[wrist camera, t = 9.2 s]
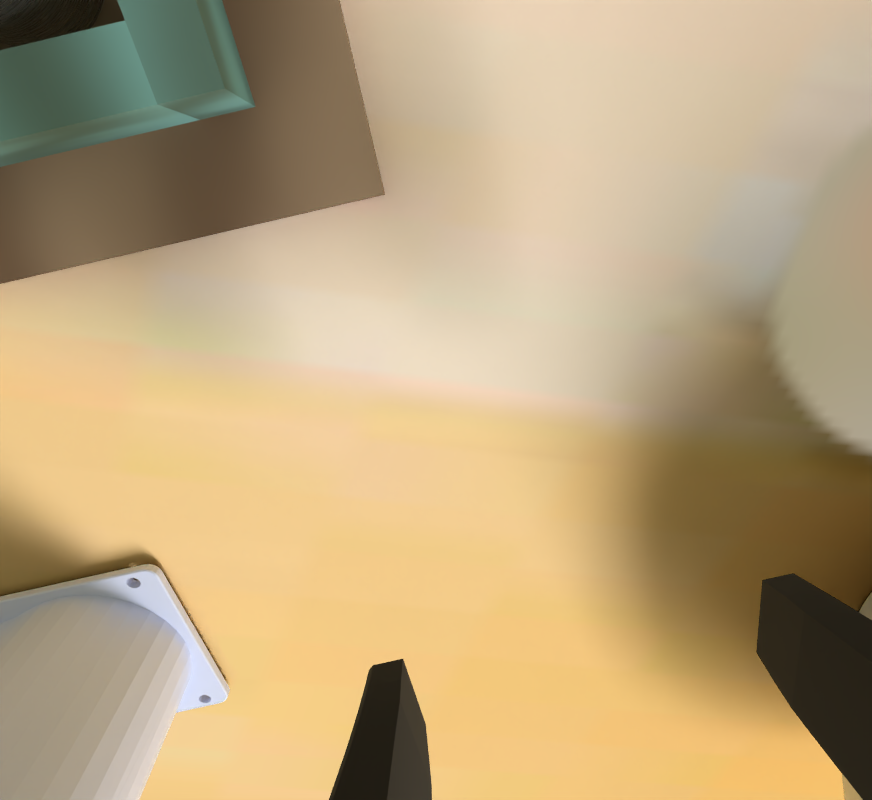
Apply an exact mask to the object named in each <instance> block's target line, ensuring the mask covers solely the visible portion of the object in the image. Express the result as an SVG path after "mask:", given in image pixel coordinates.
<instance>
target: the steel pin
mask: <svg viewBox="0 0 872 800" xmlns="http://www.w3.org/2000/svg"><path fill="white" fill-rule="evenodd" d="M103 2H104V0H0V43H3V44H6V45H9V46H11V47H16V46H20V45H24V44H28V43H33V42H37V41H41V40H45V39H49V38H54V37H58V36H62V35H66V34H70V33H74V32H79V31H83V30H87V29H91V28H92V27H93V25H94V24H95V22H96V21H97V18H98V16H99V14H100V12H101V9H102V6H103Z"/></svg>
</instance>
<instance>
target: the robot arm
mask: <svg viewBox="0 0 872 800" xmlns="http://www.w3.org/2000/svg"><path fill="white" fill-rule="evenodd" d="M133 578H136V579H138V580H139V581H137V580H134V579H133ZM757 654H758V656H759V657H760V659H761V661H762V662H763V664H764V665H765V667H766V669H767V670H768V672H769V674H770V675H771V677H772V678H773V680H774V682H775V683H776V685H777V686H778V688H779V689H780V691H781V693H782V694H783V696H784V697H785V699H786V700H787V702H788V703H789V705H790V706H791V708H792V709H793V711H794V712H795V713H796V715H797V716H798V717H799V719H800V720H801V721H802V722H803V724H804V725H805V726H806V728H807V729H808V730H809V732H810V733H811V734H812V735H813V737H814V738H815V739H816V741H817V742H818V743H819V744H820V746H821V747H822V748H823V750H824V751H825V752H826V754H827V755H828V756H829V757H830V759H831V760H832V761H833V762H834V764H835V765H836V766H837V768H838V769H839V770H840V771H841V773H842V774H843V775H844V777H845V778H846V779H847V780H848V782H849V783H850V784H851V785H852V787H853V788H854V789H855V791H856V792H857V793H858V794H859V796H860V797H861V798H862V800H872V620H871V619H869V618H867V617H866V616H864V615H862V614H861V613H859V612H857V611H856V610H854V609H852V608H851V607H849V606H847V605H846V604H844V603H842V602H841V601H839V600H837V599H836V598H834V597H832V596H831V595H829V594H827V593H826V592H824V591H822V590H821V589H819V588H817V587H816V586H814V585H812V584H811V583H809V582H807V581H805V580H804V579H802V578H800V577H799V576H797V575H795V574H789V575H784V576H779V577H775V578H770V579H766V580H762V592H761V604H760V616H759V628H758V640H757ZM229 691H230V689H229V686H228V684H227V683H226V681H225V679H224V677H223V676H222V674H221V672H220V671H219V669H218V667H217V665H216V664H215V662H214V660H213V658H212V657H211V655H210V653H209V651H208V650H207V648H206V646H205V645H204V643H203V641H202V639H201V638H200V636H199V634H198V632H197V631H196V629H195V627H194V625H193V624H192V622H191V620H190V619H189V617H188V615H187V613H186V612H185V610H184V608H183V606H182V605H181V603H180V601H179V599H178V598H177V596H176V594H175V593H174V591H173V589H172V587H171V586H170V584H169V582H168V580H167V579H166V577H165V575H164V573H163V572H162V570H161V569H160V568H159V567H157V566H155V565H152V564H143V565H139V566H135V567H130V568H126V569H121V570H117V571H112V572H108V573H103V574H99V575H94V576H90V577H85V578H81V579H76V580H72V581H67V582H63V583H58V584H54V585H49V586H45V587H40V588H36V589H31V590H27V591H22V592H18V593H13V594H9V595H5V596H0V800H139V799H140V797H141V794H142V792H143V790H144V787H145V785H146V782H147V780H148V778H149V775H150V773H151V771H152V768H153V766H154V763H155V761H156V759H157V756H158V754H159V751H160V749H161V747H162V744H163V742H164V740H165V737H166V735H167V732H168V730H169V728H170V725H171V723H172V721H173V718H174V716H175V713H176V712H181V711H186V710H190V709H195V708H199V707H204V706H208V705H213V704H218V703H221V702H224V701H225V700H226V699H227V697H228V694H229ZM329 800H432V786H431V775H430V764H429V754H428V744H427V734H426V724H425V721H424V718H423V715H422V713H421V710H420V707H419V704H418V701H417V698H416V695H415V692H414V689H413V686H412V684H411V681H410V678H409V675H408V672H407V669H406V666H405V663H404V660H403V659H400V660H395V661H391V662H386V663H382V664H377V665H373V666H372V667H371V669H370V670H369V672H368V676H367V681H366V685H365V688H364V692H363V696H362V699H361V703H360V707H359V710H358V714H357V717H356V720H355V724H354V727H353V730H352V733H351V736H350V740H349V743H348V746H347V749H346V752H345V755H344V758H343V761H342V764H341V766H340V769H339V772H338V775H337V778H336V781H335V784H334V787H333V790H332V793H331V795H330V798H329Z"/></svg>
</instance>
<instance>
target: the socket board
mask: <svg viewBox="0 0 872 800" xmlns="http://www.w3.org/2000/svg"><path fill="white" fill-rule="evenodd" d="M384 194H385V193H384V189H383V184H382V180H381V176H380V171H379V167H378V163H377V159H376V154H375V150H374V146H373V142H372V137H371V133H370V129H369V125H368V120H367V116H366V112H365V108H364V103H363V99H362V95H361V91H360V86H359V82H358V78H357V74H356V69H355V65H354V61H353V57H352V52H351V48H350V44H349V40H348V35H347V31H346V27H345V23H344V18H343V14H342V10H341V5H340V1H339V0H104V2H103V6H102V9H101V12H100V14H99V16H98V18H97V21H96V22H95V24H94V25H93V27H92V28H91V29H87V30H83V31H79V32H74V33H70V34H66V35H62V36H58V37H54V38H49V39H45V40H41V41H37V42H33V43H28V44H24V45H20V46H16V47H11V46H9V45H6V44H3V43H0V284H1V283H6V282H10V281H14V280H19V279H23V278H27V277H31V276H36V275H40V274H44V273H49V272H53V271H57V270H62V269H66V268H70V267H74V266H79V265H83V264H87V263H92V262H96V261H100V260H105V259H109V258H113V257H118V256H122V255H126V254H130V253H135V252H139V251H143V250H148V249H152V248H156V247H161V246H165V245H169V244H173V243H178V242H182V241H186V240H191V239H195V238H199V237H204V236H208V235H212V234H217V233H221V232H225V231H229V230H234V229H238V228H242V227H247V226H251V225H255V224H260V223H264V222H268V221H273V220H277V219H281V218H285V217H290V216H294V215H298V214H303V213H307V212H311V211H316V210H320V209H324V208H328V207H333V206H337V205H341V204H346V203H350V202H354V201H359V200H363V199H367V198H372V197H376V196H380V195H384Z"/></svg>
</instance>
